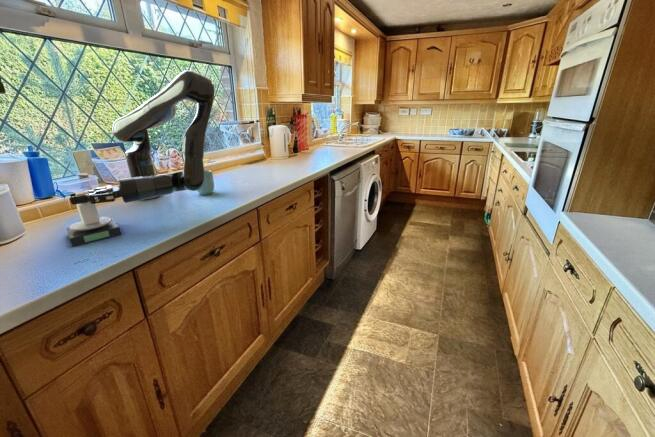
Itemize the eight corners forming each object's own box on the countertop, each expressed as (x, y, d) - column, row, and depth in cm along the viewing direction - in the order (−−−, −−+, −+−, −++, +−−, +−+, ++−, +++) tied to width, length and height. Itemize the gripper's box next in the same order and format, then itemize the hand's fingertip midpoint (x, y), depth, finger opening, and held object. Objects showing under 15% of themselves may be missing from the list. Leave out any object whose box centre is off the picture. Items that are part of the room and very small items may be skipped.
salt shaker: (85, 226, 90) (74, 195, 86) (82, 223, 92) (72, 193, 89) (101, 222, 92) (91, 192, 89) (97, 219, 95) (88, 190, 92)
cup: (209, 196, 132) (205, 173, 128) (193, 195, 133) (189, 173, 130) (218, 191, 139) (215, 169, 135) (203, 191, 140) (199, 169, 137)
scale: (68, 235, 94) (64, 223, 93) (113, 224, 102) (110, 213, 100) (72, 247, 85) (67, 234, 84) (121, 234, 93) (118, 222, 92)
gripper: (132, 174, 101) (67, 182, 92) (137, 180, 91) (65, 191, 81) (138, 195, 104) (75, 206, 95) (144, 204, 93) (74, 217, 84)
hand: (71, 199), depth 88 cm, fingers open, 4 cm apart
